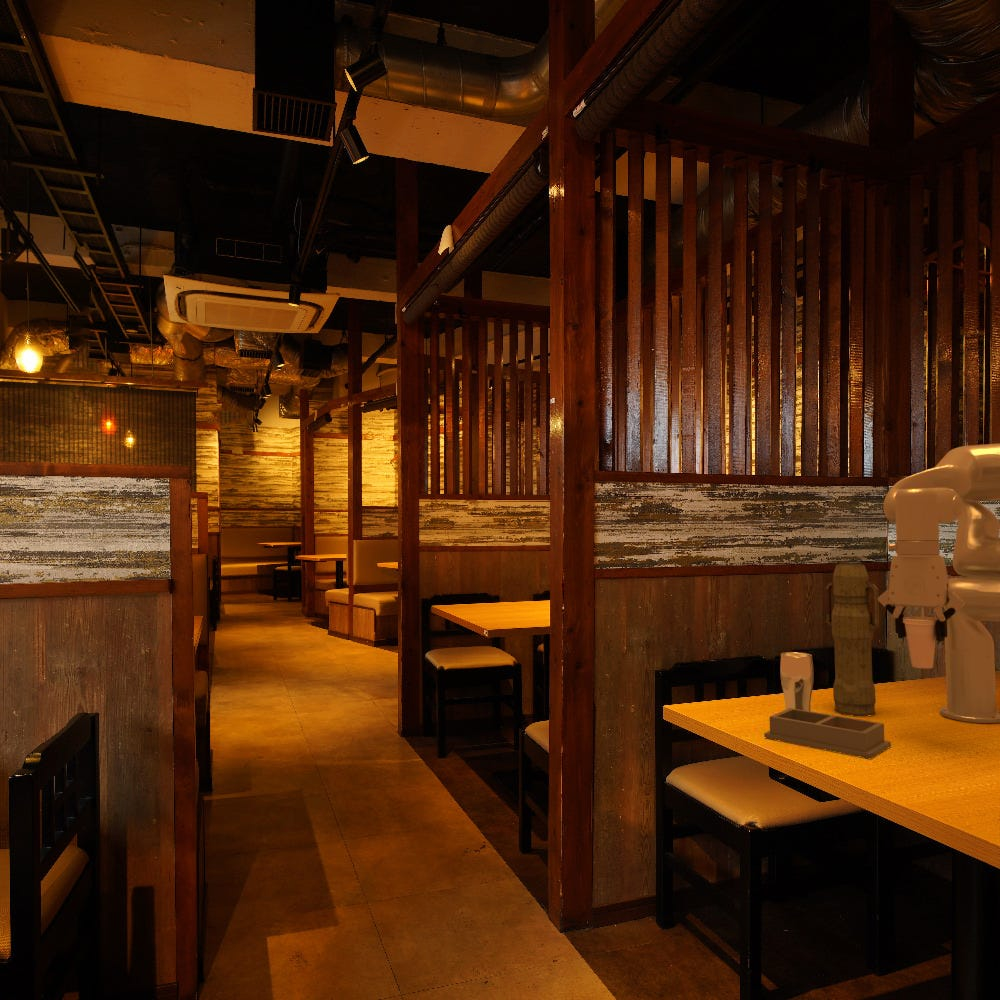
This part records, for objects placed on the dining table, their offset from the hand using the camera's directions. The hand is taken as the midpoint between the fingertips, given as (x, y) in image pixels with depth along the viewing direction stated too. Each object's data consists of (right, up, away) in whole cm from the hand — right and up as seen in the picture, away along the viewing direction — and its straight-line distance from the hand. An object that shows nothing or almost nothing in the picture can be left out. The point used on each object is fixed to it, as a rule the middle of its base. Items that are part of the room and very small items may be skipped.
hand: (921, 638), depth 150 cm
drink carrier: (-18, -22, +2) cm, 28 cm away
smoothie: (0, -6, 0) cm, 6 cm away
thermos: (-1, -22, +26) cm, 34 cm away
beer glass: (-17, -22, +18) cm, 34 cm away
